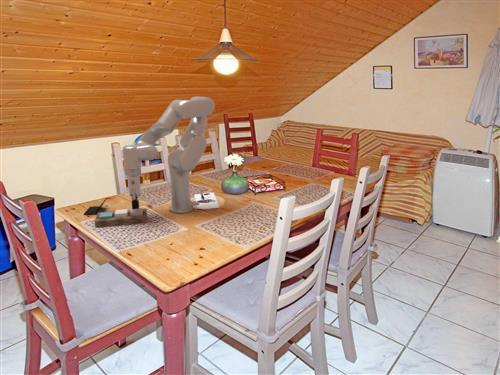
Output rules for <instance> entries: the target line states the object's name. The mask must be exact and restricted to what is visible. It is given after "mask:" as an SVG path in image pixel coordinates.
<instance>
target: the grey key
mask: <svg viewBox="0 0 500 375" xmlns="http://www.w3.org/2000/svg"><path fill="white" fill-rule="evenodd" d="M143 209H144V208H143V207H139V209H132V208H130V210H131V211H130V216H141V215H143Z"/></svg>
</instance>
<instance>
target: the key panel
mask: <svg viewBox="0 0 500 375" xmlns="http://www.w3.org/2000/svg"><path fill="white" fill-rule="evenodd" d="M147 210H148V209H147V208H143V215H141V216H130V211H131V209H128V217H127V216H126V217H116V218H115V211H116V210H113V211H110V212H113V218H105V219H99V216H100V213H105V212H106V211H101V212H100V211H99V212H98V213H97V214H96V215H95V216H96V217H95V219H94V227H95V228H106V227H116V226H128V225H139V224H147V223H148V221H147V220H148V211H147Z"/></svg>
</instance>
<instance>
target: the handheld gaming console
mask: <svg viewBox="0 0 500 375" xmlns="http://www.w3.org/2000/svg"><path fill="white" fill-rule="evenodd" d="M106 201H107V198H105V199H104V200H103V201H102V202H101V204H100V205H99V206H97V205H94V206H89V207H88V209H86V210H85V211H84V212H83V216H97V214H98V213H99V212H100V211H101V209H102V206H103V205H104V203H105V202H106Z"/></svg>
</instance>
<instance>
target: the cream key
mask: <svg viewBox="0 0 500 375" xmlns="http://www.w3.org/2000/svg"><path fill="white" fill-rule="evenodd" d="M128 210H129V209H128V208H125V209H123V208H122V209H115V210H114V211H115V218H116V217H126V216H127V217H128Z"/></svg>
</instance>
